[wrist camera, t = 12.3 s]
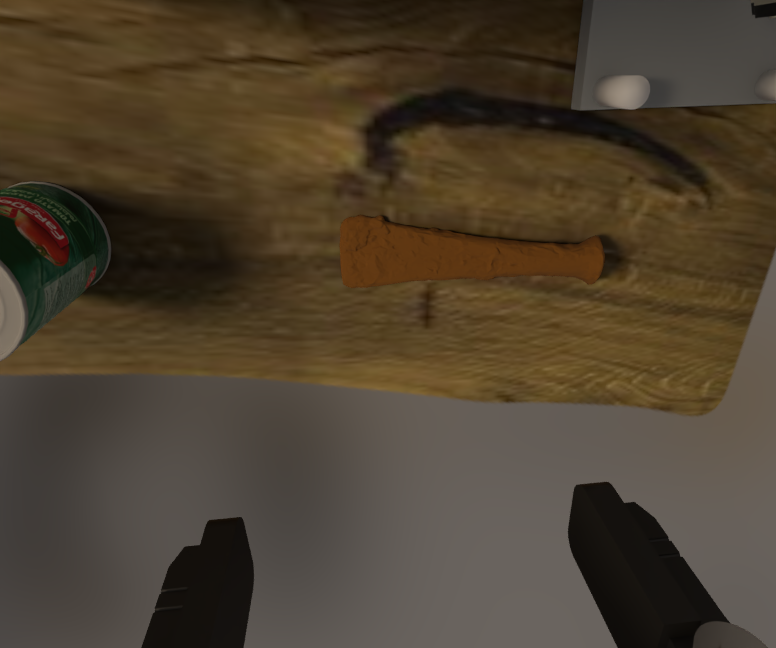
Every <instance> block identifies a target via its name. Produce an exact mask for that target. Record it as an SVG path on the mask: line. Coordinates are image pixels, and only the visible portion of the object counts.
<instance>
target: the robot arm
mask: <svg viewBox="0 0 776 648" xmlns="http://www.w3.org/2000/svg"><path fill="white" fill-rule="evenodd" d="M568 538H569V544H570V548H571V551H572V554H573V557H574V559H575V561H576V563H577V565H578V567H579V569H580V571H581V573H582V575H583V577H584V579H585V581H586V584H587V586H588V587H589V590H590V592H591V594H592V596H593V598H594V600H595V602H596V604H597V606H598V608H599V610H600V612H601V614H602V616H603V619H604V621H605V622H606V625H607V627H608V629H609V631H610V633H611V635H612V637H613V639H614V641H615V643H616V645H617V647H618V648H768V647H767V646H766V645H765V644H764V643H763V642H762V641H761V640H759V639H758V638H757V637H756V636H754V635H753V634H751V633H750V632H748V631H746V630H745V629H743V628H741V627H739V626H737V625H734V624H731V623H730V622H729V621H728V620H727V619H726V617H725V616H724V615H723V613H722V612H721V611H720V609H719V608H718V606H717V605H716V603H715V602H714V601H713V599H712V598H711V596H710V595H709V594H708V592H707V591H706V589H705V588H704V587H703V585H702V584H701V582H700V581H699V579H698V578H697V577H696V575H695V574H694V572H693V571H692V570H691V568H690V567H689V566H688V564H687V563H686V561H685V560H684V558H683V557H680V554H679V551H678V550H677V549H676V547H675V546H674V544H673V543H672V541H669V539H668V536H667V534H666V533H665V532H664V530H663V529H662V527H661V526H660V525H659V523H658V522H657V520H656V519H655V518H654V517H653V516H652V515H650V514H649V513H648V512H647V511H645V510H644V509H643V508H642V507H640V506H639V505H638V504H636V503H635V502H631V503H624V502H623V501H622V499H621V498H620V496H619V495H618V493H617V492H616V490H615V489H614V487H613V486H612V485H611V484H610V483H609V482H600V483H590V484H580V485H576V486H575V488H574V492H573V500H572V507H571V513H570V520H569V526H568ZM253 584H254V567H253V560H252V555H251V551H250V547H249V542H248V538H247V534H246V530H245V525H244V521H243V519H242V517H237V518H227V519H217V520H209V521H208V522H207V524H206V527H205V530H204V533H203V537H202V540H201V544H200V545H197V546H187V547H184V548H183V550H182V551H181V552H180V553H179V555H178V556H177V557H176V559H175V560H174V561H173V562H172V564H171V565H170V566H169V568H168V571H167V574H166V577H165V580H164V583H163V586H162V589H161V594H160V595H159V598H158V600H157V603H156V606H155V613H153V615H152V618H151V621H150V624H149V627H148V630H147V633H146V636H145V639H144V642H143V645H142V648H243V647H244V642H245V635H246V629H247V623H248V617H249V611H250V605H251V598H252V593H253Z"/></svg>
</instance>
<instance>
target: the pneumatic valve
mask: <svg viewBox="0 0 776 648" xmlns="http://www.w3.org/2000/svg"><path fill="white" fill-rule="evenodd" d="M751 10H752V15H755V18H762V17H769V19H772V18H776V0H751Z"/></svg>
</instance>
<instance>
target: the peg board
mask: <svg viewBox="0 0 776 648" xmlns="http://www.w3.org/2000/svg"><path fill="white" fill-rule="evenodd" d="M765 103H776V18H772V19H769V17H762V18H755V15H752V10H751V0H583V8H582V17H581V26H580V34H579V43H578V52H577V60H576V69H575V78H574V86H573V95H572V104H571V109H575V110H604V109H630V110H633V109H637V108H658V107H685V106H711V105H738V104H765Z"/></svg>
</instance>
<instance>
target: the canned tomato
mask: <svg viewBox="0 0 776 648" xmlns="http://www.w3.org/2000/svg"><path fill="white" fill-rule="evenodd" d="M110 259H111V242H110V237H109V234H108V231H107V228H106V226H105V224H104V223H103V221H102V219H101V217H100V216H99V215H98V213H97V212H96V211H95V210H94V209H93V207H92V206H91V205H90V204H88V203H87V202H86V201H85V200H84V199H83V198H81V197H80V196H78V195H77V194H75V193H74V192H72V191H70V190H68V189H66V188H63V187H61V186H59V185H55V184H51V183H47V182H36V181H31V182H23V183H18V184H15V185H13V186H10V187H8V188H6V189H2V190H0V361H2V360H3V359H5V358H7V357H8V356H10V355H11V354H12V353H13V352H14V351H15V350H16V349H17V348H18V347H19V346H20V345H21V344H22V343H24V342H25V341H27V340H28V339H29V338H30V337H31V336H32V335H34V334H35V333H36V332H37V331H38V330H39V329H41V328H42V327H43V326H44V325H45V324H46V323H48V322H49V321H50V320H51V319H52V318H54V317H55V316H56V315H57V314H58V313H59V312H61V311H62V310H63V309H64V308H65V307H67V306H68V305H69V304H70V303H71V302H73V301H74V300H75V299H76V298H78V297H79V296H80V295H81V294H82V293H84V292H85V291H86V290H87V289H88V288H89V287H90V286H92V285H94V284H95V283H96V282H97V281H98V280H99V279H100V278H101V277H102V276H103V275H104V273H105V271H106V270H107V268H108V265H109V262H110Z"/></svg>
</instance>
